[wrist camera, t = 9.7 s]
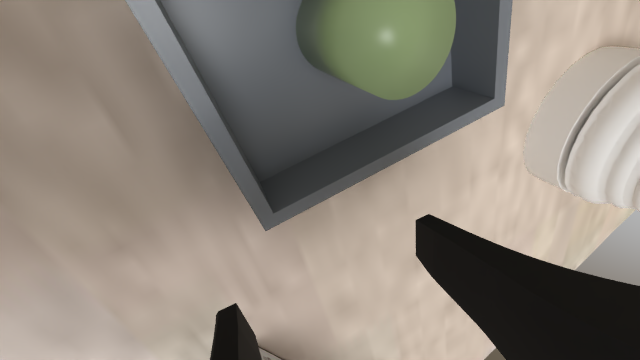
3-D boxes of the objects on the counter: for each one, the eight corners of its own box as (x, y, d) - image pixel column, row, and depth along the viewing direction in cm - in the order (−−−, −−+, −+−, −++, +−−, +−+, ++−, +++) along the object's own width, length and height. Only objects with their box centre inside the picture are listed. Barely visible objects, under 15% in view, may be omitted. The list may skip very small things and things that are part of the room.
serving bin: (251, 193, 19) (265, 231, 16) (85, -92, 11) (43, -135, 7) (455, 90, 21) (504, 105, 18) (447, -207, 13) (533, -277, 10)
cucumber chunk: (312, 86, 16) (366, 118, 12) (282, -3, 14) (336, -8, 9) (379, 53, 17) (458, 72, 12) (362, -37, 14) (453, -59, 10)
